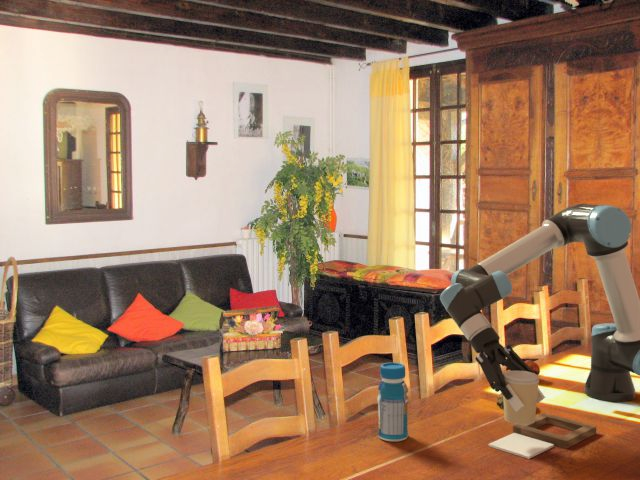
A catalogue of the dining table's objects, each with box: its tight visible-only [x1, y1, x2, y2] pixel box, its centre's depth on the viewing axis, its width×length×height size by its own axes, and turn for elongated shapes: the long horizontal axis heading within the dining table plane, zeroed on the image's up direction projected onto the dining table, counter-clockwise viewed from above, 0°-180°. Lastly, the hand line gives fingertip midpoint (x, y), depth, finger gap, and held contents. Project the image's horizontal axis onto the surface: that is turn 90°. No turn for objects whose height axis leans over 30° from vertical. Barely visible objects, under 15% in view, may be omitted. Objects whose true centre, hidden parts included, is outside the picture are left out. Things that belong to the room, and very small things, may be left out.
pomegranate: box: [523, 359, 541, 376], centre depth 253 cm, size 7×7×10 cm
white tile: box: [488, 432, 555, 460], centre depth 193 cm, size 12×12×1 cm
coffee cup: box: [503, 370, 540, 425], centre depth 192 cm, size 9×9×12 cm
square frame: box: [512, 412, 597, 449], centre depth 203 cm, size 16×16×2 cm
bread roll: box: [496, 392, 504, 410], centre depth 225 cm, size 10×10×8 cm
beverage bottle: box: [376, 362, 409, 443], centre depth 200 cm, size 8×8×20 cm
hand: (530, 404), depth 190 cm, fingers closed on coffee cup, 9 cm apart
